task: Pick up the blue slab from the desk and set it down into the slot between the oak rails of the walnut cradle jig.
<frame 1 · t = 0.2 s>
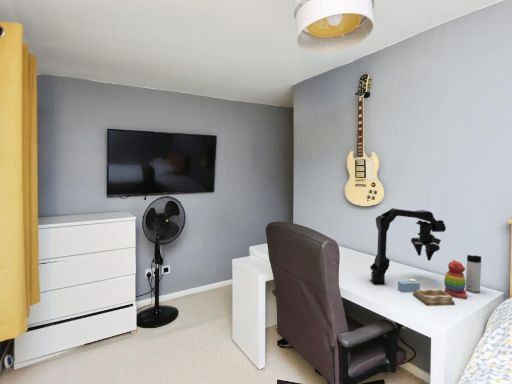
hand: (424, 258, 172), 14 cm above the table, fingers open, 9 cm apart
travel mug: (472, 291, 159), on the table
blue slab: (408, 290, 162), on the table
stacking bear: (455, 294, 156), on the table
jig: (432, 299, 150), on the table
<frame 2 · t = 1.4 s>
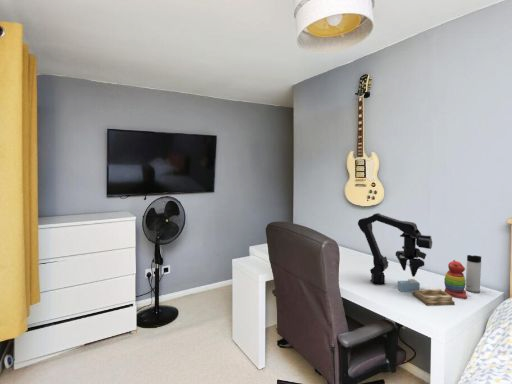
hand: (408, 273, 161), 10 cm above the table, fingers open, 9 cm apart
nothing on the table moved.
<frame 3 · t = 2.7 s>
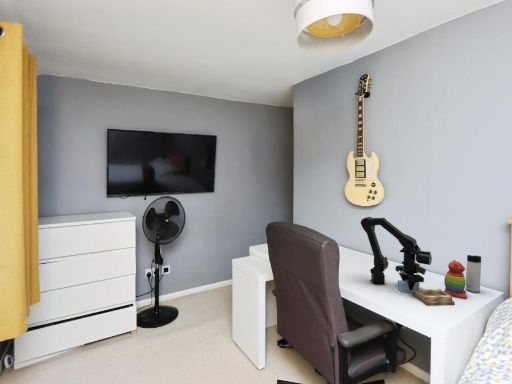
hand: (408, 288, 161), 1 cm above the table, fingers closed on blue slab, 4 cm apart
blue slab: (408, 290, 161), on the table, touching gripper
everything else where it was.
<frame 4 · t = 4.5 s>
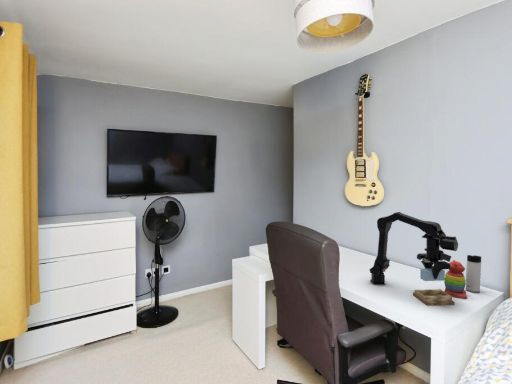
hand: (432, 277, 149), 12 cm above the table, fingers closed on blue slab, 4 cm apart
blue slab: (432, 279, 149), point 11 cm above the table, touching gripper
everything else where it was.
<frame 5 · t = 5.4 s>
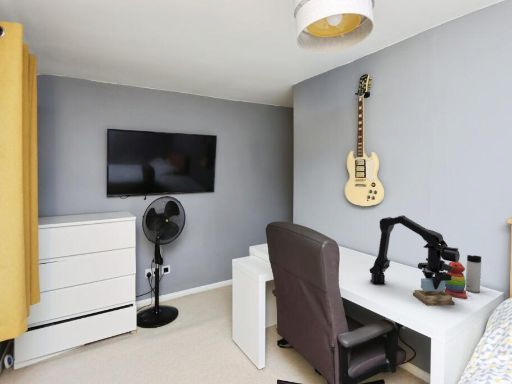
hand: (433, 287, 149), 6 cm above the table, fingers closed on blue slab, 4 cm apart
blue slab: (432, 289, 149), point 6 cm above the table, touching gripper
everything else where it was.
when the fingers open (4 cm above the table, at t = 6.1 s): blue slab drops 2 cm, resting on jig.
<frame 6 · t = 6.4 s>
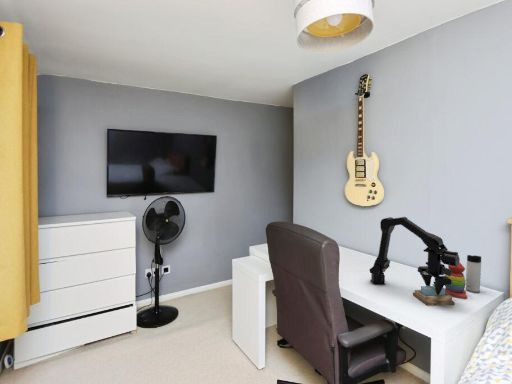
hand: (433, 291, 149), 4 cm above the table, fingers open, 7 cm apart
blue slab: (432, 296, 150), point 1 cm above the table, touching jig
everything else where it was.
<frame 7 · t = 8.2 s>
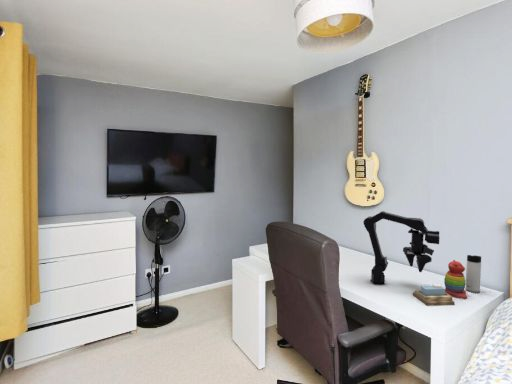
hand: (415, 269, 162), 12 cm above the table, fingers open, 9 cm apart
nothing on the table moved.
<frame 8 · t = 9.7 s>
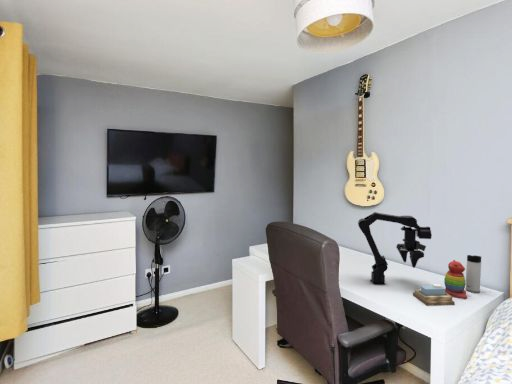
hand: (409, 264, 168), 12 cm above the table, fingers open, 9 cm apart
nothing on the table moved.
at the end: blue slab 0.2 cm off-centre on the jig, point 1.5 cm above the jig's base; blue slab tilted 0°; the gripper is holding nothing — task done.
